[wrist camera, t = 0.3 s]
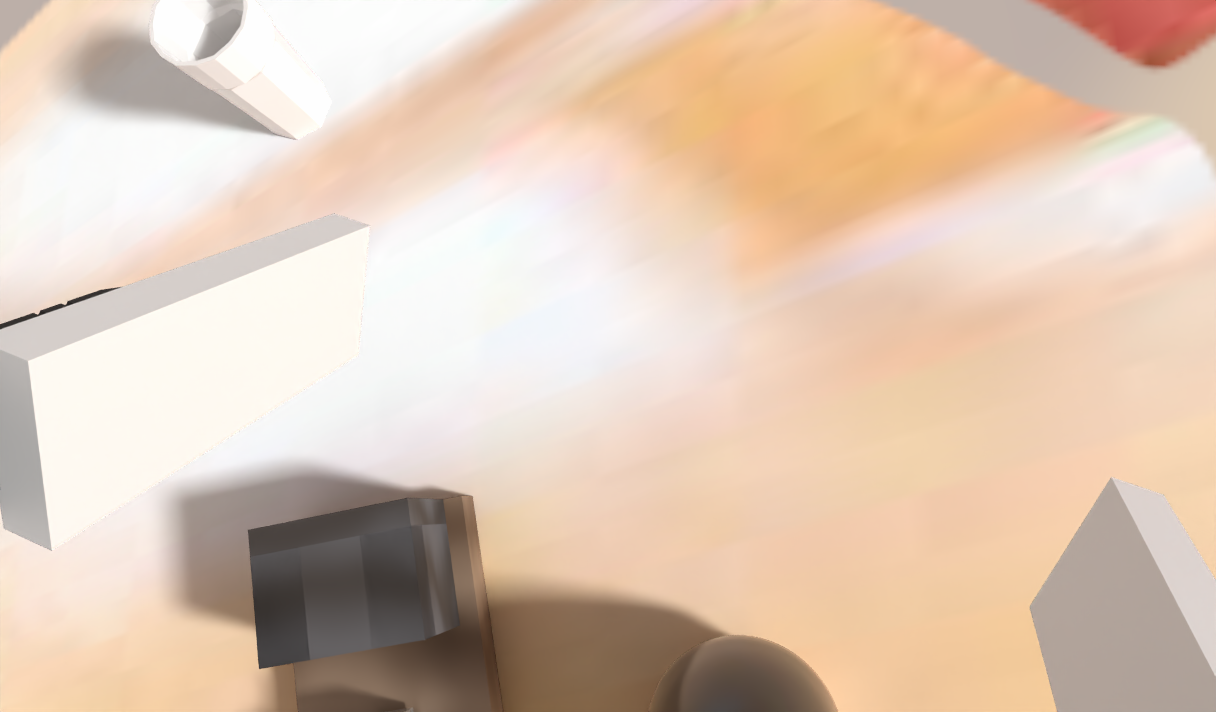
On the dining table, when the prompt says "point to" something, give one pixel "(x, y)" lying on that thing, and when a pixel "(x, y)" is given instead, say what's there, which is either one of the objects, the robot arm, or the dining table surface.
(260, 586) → the lock frame
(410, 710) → the bolt
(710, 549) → the dining table surface
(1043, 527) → the dining table surface
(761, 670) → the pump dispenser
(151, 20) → the cup
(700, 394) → the dining table surface
